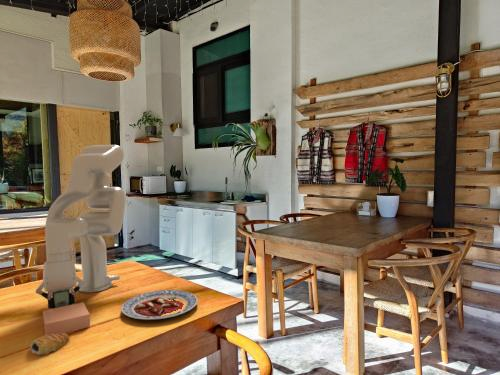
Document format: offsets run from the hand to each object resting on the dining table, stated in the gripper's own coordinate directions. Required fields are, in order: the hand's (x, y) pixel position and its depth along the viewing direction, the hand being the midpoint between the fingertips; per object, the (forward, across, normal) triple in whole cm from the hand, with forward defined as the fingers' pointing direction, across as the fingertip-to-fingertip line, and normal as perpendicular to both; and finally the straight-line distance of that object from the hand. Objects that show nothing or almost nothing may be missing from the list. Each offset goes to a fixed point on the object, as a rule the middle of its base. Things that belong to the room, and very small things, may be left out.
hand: (61, 307), depth 124 cm
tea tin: (+1, 0, 0) cm, 1 cm away
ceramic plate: (+1, -29, +19) cm, 35 cm away
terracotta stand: (+1, 0, +14) cm, 14 cm away
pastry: (+2, +6, +27) cm, 28 cm away
